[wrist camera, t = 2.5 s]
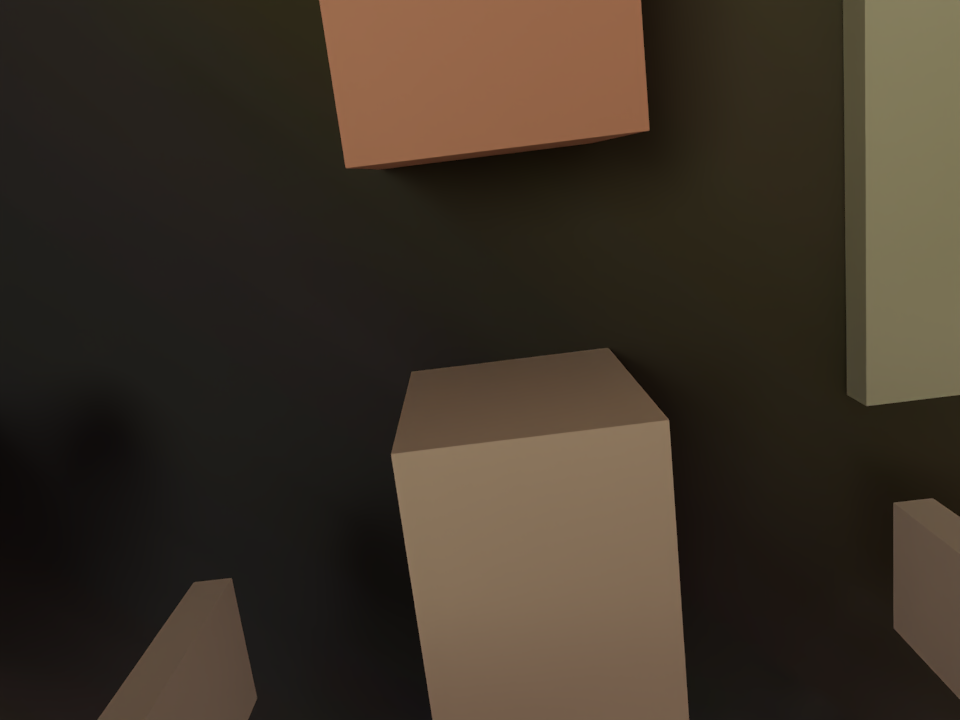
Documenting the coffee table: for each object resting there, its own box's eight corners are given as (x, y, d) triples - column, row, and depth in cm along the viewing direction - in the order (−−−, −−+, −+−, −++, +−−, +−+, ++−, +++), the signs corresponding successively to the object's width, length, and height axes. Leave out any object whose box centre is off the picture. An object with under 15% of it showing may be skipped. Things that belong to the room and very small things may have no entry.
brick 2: (447, 616, 21) (442, 782, 16) (411, 371, 20) (390, 453, 14) (628, 594, 21) (691, 752, 16) (607, 346, 20) (669, 420, 14)
